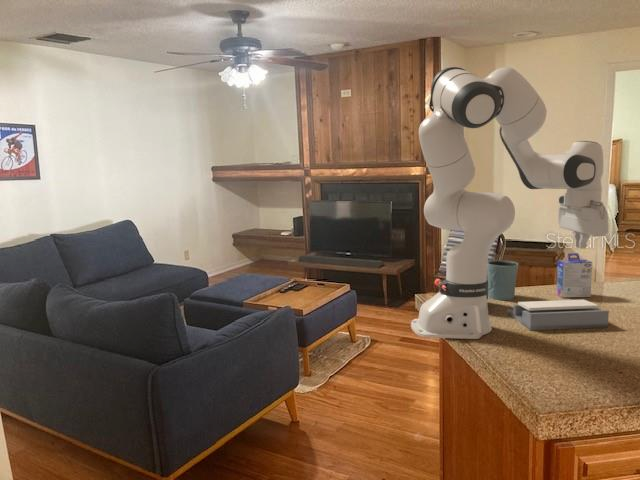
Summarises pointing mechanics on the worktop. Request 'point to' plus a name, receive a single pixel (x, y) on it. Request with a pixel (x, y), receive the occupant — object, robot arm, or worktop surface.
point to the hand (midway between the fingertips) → (580, 247)
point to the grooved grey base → (560, 318)
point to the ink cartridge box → (574, 277)
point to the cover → (557, 305)
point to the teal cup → (502, 279)
